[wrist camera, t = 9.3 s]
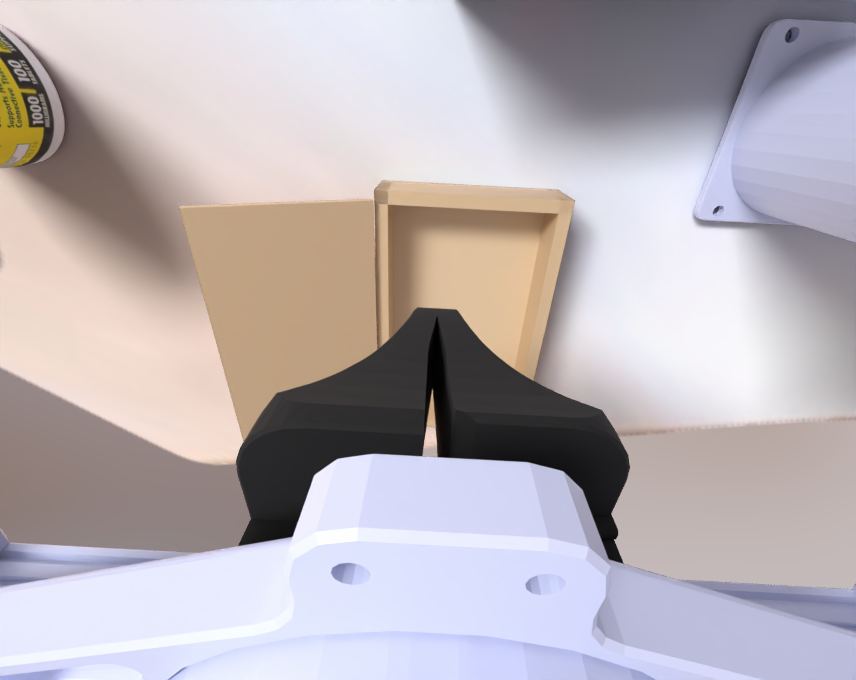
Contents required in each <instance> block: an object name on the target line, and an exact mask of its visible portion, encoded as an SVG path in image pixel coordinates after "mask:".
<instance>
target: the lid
mask: <svg viewBox="0 0 856 680" xmlns="http://www.w3.org/2000/svg"><path fill="white" fill-rule="evenodd" d="M179 209H180V213H181V216H182V220H183V224H184V227H185V231H186V235H187V238H188V242H189V245H190V249H191V253H192V256H193V260H194V264H195V267H196V271H197V274H198V278H199V282H200V285H201V289H202V293H203V296H204V300H205V303H206V307H207V311H208V314H209V318H210V322H211V325H212V329H213V333H214V336H215V340H216V343H217V347H218V351H219V354H220V358H221V362H222V365H223V369H224V372H225V376H226V380H227V383H228V387H229V391H230V394H231V398H232V401H233V405H234V409H235V412H236V416H237V420H238V423H239V427H240V430H241V434H242V438H243V441H245V439H246V437H247V436H248V434H249V432H250V431H251V429H252V427H253V426H254V424H255V422H256V421H257V419H258V417H259V416H260V414H261V413H262V411H263V410H264V409H265V407H266V406H267V405H268V403H269V402H270V401H271V400H272V398H273V397H274V396H275V394H276V393H278V392H282V391H286V390H289V389H293V388H296V387H300V386H303V385H307V384H310V383H313V382H316V381H319V380H321V379H324V378H326V377H329V376H331V375H334V374H336V373H338V372H341V371H343V370H345V369H346V368H348V367H350V366H352V365H354V364H356V363H358V362H359V361H361V360H363V359H365V358H366V357H368V356H369V355H371V354H372V353H374V352H375V351H376V350H377V321H376V282H375V244H374V205H373V200H372V199H352V200H325V201H299V202H272V203H246V204H219V205H192V206H180V208H179Z"/></svg>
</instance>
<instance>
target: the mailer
mask: <svg viewBox="0 0 856 680" xmlns="http://www.w3.org/2000/svg"><path fill="white" fill-rule="evenodd" d="M374 203H375V244H376V285H377V326H378V349H379V348H380V347H381V346H382V345H383V344H384V343H386V342H387V341H388V340H389V339H390V338H391V337H392V336H393V335H394V334H395V333H396V332H397V331H398V330H399V329H400V328H401V326H402V325H403V324H404V323H405V322H406V321H407V319H408V318H409V317H410V315H411V314H412V313H413V311H414V310H415V309H416V308H417V307H422V308H441V309H457V310H458V312H459V313H460V314H461V316H462V317H463V319H464V320H465V321H466V323H467V324H468V325H469V327H470V328H471V329H472V330H473V332H474V333H475V334H476V335H477V336H478V338H479V339H480V340H481V341H482V342H483V343H484V344H485V345H486V346H487V347H488V348H489V349H490V350H491V351H492V352H493V353H494V354H496V355H497V356H498V357H499V358H500V359H502V360H503V361H504V362H506V363H507V364H508V365H509V366H511V367H512V368H514V369H515V370H517V371H518V372H519V373H521V374H523V375H524V376H526V377H528V378H529V379H531V380H533V381H534V376H535V372H536V368H537V363H538V359H539V355H540V350H541V346H542V342H543V337H544V333H545V329H546V324H547V320H548V316H549V311H550V307H551V303H552V298H553V294H554V290H555V285H556V281H557V277H558V272H559V268H560V264H561V260H562V255H563V251H564V247H565V242H566V238H567V234H568V229H569V225H570V221H571V216H572V212H573V208H574V203H575V200H573V199H572V198H570V197H569V196H567V195H566V194H564V193H562V192H561V191H559V190H550V189H531V188H512V187H494V186H475V185H456V184H438V183H419V182H400V181H382V182H381V183H380V184H379V185H378V186H377V187H376V188H375V190H374ZM427 426H429V427H436V425H435V413H434V401H433V389H432V395H431V401H430V407H429V414H428V420H427Z"/></svg>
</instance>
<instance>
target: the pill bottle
mask: <svg viewBox="0 0 856 680" xmlns="http://www.w3.org/2000/svg"><path fill="white" fill-rule="evenodd" d="M64 130H65V122H64V114H63V109H62V105H61V101H60V99H59V96H58V93H57V91H56V88H55V86H54V84H53V82H52V80H51V79H50V77H49V75H48V73H47V72H46V70H45V69H44V67H43V66H42V65H41V63H40V62H39V61H38V59H37V58H36V57H35V55H34V54H33V53H32V52H31V51H30V50H29V49H28V48H27V47H26V46H25V44H23V43H22V42H21V41H20V40H19V39H18V38H17V37H16V36H15V35H14V34H12V33H11V32H10V31H9V30H7V29H6V28H5V27H3V26H2V25H0V168H7V167H16V166H24V165H30V164H35V163H38V162H42V161H44V160H46V159H48V158H49V157H50V156H52V155H53V154H54V153H55V152H56V150H57V149H58V147H59V146H60V144H61V142H62V139H63V136H64Z"/></svg>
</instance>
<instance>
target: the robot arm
mask: <svg viewBox="0 0 856 680" xmlns="http://www.w3.org/2000/svg"><path fill="white" fill-rule="evenodd" d="M789 29H791V31H792V36H791V38H790V40H789V41H788V42H786V40H785V36H786V33H787V32H788V30H789ZM717 206H719V210H718V212H717V213H715V214H713V210H714V209H715V208H716V207H717ZM694 215H695V217H696V218H698V219H701V220H706V221H724V222H743V223H761V224H780V225H799V226H804V227H807V228H810V229H813V230H817V231H820V232H823V233H826V234H829V235H833V236H836V237H839V238H842V239H846V240H849V241H852V242H855V243H856V23H855V22H836V21H817V20H798V19H782V20H778V21H774V22H773V23H771V24H769V26H768V27H767V28H766V29H765V30H764V32H763V34H762V36H761V38H760V41H759V44H758V46H757V49H756V51H755V54H754V56H753V59H752V62H751V64H750V67H749V69H748V72H747V74H746V77H745V80H744V82H743V85H742V87H741V90H740V93H739V95H738V98H737V100H736V103H735V105H734V108H733V111H732V113H731V116H730V118H729V121H728V124H727V126H726V129H725V131H724V134H723V136H722V139H721V142H720V144H719V147H718V149H717V152H716V155H715V157H714V160H713V162H712V165H711V167H710V170H709V173H708V175H707V178H706V180H705V183H704V186H703V188H702V191H701V193H700V196H699V198H698V201H697V204H696V206H695V209H694ZM432 389H433V401H434V413H435V425H436V437H437V454H438V457H425V456H422V454H423V446H424V439H425V433H426V426H427V420H428V414H429V407H430V401H431V395H432ZM236 465H237V473H238V477H239V481H240V484H241V487H242V490H243V494H244V496H245V500H246V503H247V507H248V510H249V513H250V517H251V520H250V522H249V524H248V526H247V528H246V531H245V533H244V535H243V537H242V539H241V541H240V543H239V545H238V546H237V547H231V548H225V549H220V550H214V551H208V552H202V553H188V552H170V551H151V550H134V549H116V548H97V547H79V546H61V545H44V544H26V543H25V544H24V543H9V542H8V538H7V536H6V535H5V533H4V532H3V531H2V529H1V528H0V680H856V584H855V585H854V588H853V589H839V588H821V587H804V586H803V587H802V586H785V585H766V584H749V583H730V582H713V581H695V580H694V581H693V580H677V579H673V578H670V577H667V576H663V575H660V574H656V573H653V572H650V571H646V570H643V569H640V568H636V567H633V566H629V565H626V564H624V563H623V561H622V559H621V556H620V554H619V551H618V549H617V546H616V544H615V541H614V539H616V538H617V536H618V529H617V527H616V524H615V522H614V519H613V517H612V515H611V513H612V511H613V509H614V507H615V504H616V502H617V500H618V498H619V496H620V494H621V491H622V489H623V487H624V485H625V483H626V480H627V477H628V472H629V469H630V465H629V458H628V454H627V452H626V450H625V449H624V446H623V445H622V443H621V441H620V439H619V437H618V435H617V433H616V431H615V430H614V428H613V426H612V425H611V423H610V422H609V420H608V419H607V417H606V415H605V414H604V413H603V411H602V410H600V409H597V408H594V407H592V406H589V405H586V404H583V403H581V402H578V401H575V400H573V399H570V398H567V397H565V396H563V395H561V394H558V393H556V392H554V391H552V390H550V389H548V388H546V387H544V386H542V385H540V384H538V383H536V382H534V381H533V380H531V379H529V378H528V377H526V376H524V375H523V374H521V373H519V372H518V371H517V370H515V369H514V368H512V367H511V366H509V365H508V364H507V363H506V362H504V361H503V360H502V359H500V358H499V357H498V356H497V355H496V354H494V353H493V352H492V351H491V350H490V349H489V348H488V347H487V346H486V345H485V344H484V343H483V342H482V341H481V340H480V339H479V338H478V336H477V335H476V334H475V333H474V332H473V330H472V329H471V328H470V327H469V325H468V324H467V323H466V321H465V320H464V319H463V317H462V316H461V314H460V313H459V312H458V310H457V309H441V308H422V307H417V308H416V309H415V310H414V311H413V313H412V314H411V315H410V317H409V318H408V319H407V321H406V322H405V323H404V324H403V325H402V326H401V328H400V329H399V330H398V331H397V332H396V333H395V334H394V335H393V336H392V337H391V338H390V339H389V340H388V341H387V342H386V343H384V344H383V345H382V346H381V347H380V348H379V349H377V350H376V351H375V352H374V353H372V354H371V355H369V356H368V357H366V358H365V359H363V360H361V361H359V362H358V363H356V364H354V365H352V366H350V367H348V368H346V369H345V370H343V371H341V372H338V373H336V374H334V375H331V376H329V377H326V378H324V379H321V380H319V381H316V382H313V383H310V384H307V385H303V386H300V387H296V388H293V389H289V390H286V391H282V392H278V393H276V394H275V396H274V397H273V398H272V400H271V401H270V402H269V403H268V405H267V406H266V407H265V409H264V410H263V411H262V413H261V414H260V416H259V417H258V419H257V421H256V422H255V424H254V426H253V427H252V429H251V431H250V432H249V434H248V436H247V437H246V439H245V441H244V442H243V444H242V446H241V447H240V450H239V453H238V456H237V460H236Z"/></svg>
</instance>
